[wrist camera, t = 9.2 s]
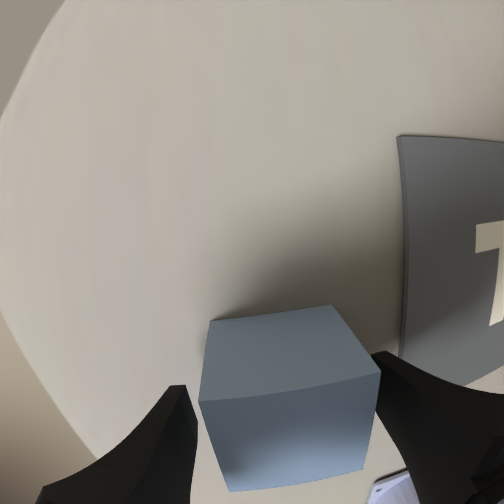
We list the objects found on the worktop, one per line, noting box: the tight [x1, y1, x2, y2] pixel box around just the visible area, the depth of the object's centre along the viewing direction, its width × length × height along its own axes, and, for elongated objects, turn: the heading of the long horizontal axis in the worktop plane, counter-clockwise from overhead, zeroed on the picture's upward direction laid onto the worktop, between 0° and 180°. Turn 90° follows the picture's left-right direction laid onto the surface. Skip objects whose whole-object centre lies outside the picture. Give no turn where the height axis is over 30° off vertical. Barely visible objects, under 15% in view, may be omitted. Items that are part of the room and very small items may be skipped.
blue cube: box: [198, 304, 381, 492], centre depth 10 cm, size 5×5×5 cm
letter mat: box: [396, 136, 504, 386], centre depth 12 cm, size 14×14×1 cm
